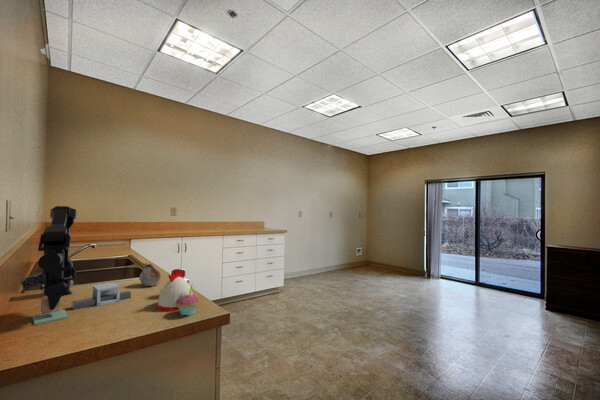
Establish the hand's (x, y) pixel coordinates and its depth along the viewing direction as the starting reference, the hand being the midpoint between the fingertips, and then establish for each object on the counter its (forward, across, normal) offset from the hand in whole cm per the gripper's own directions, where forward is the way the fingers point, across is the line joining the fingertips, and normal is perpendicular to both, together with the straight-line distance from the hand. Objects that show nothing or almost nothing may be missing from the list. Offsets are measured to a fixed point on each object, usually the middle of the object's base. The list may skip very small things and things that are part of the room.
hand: (51, 307), depth 101 cm
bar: (+4, -6, +17) cm, 18 cm away
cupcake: (+4, +29, +37) cm, 47 cm away
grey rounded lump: (+4, -20, +41) cm, 46 cm away
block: (+1, 0, 0) cm, 1 cm away
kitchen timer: (+4, +17, +38) cm, 42 cm away
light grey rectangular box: (+4, +5, +44) cm, 44 cm away
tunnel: (+4, -7, +18) cm, 20 cm away
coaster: (+4, 0, 0) cm, 4 cm away
